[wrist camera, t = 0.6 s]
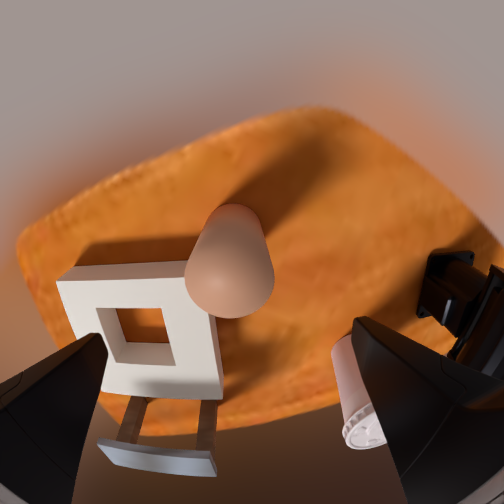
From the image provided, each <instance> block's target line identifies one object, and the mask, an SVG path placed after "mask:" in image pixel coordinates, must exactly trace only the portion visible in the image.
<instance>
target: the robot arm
mask: <svg viewBox="0 0 504 504" xmlns="http://www.w3.org/2000/svg"><path fill="white" fill-rule="evenodd" d="M474 255H475V254H474V252H472V251H460V252H450V253H438V254H431V255H430V256H429V257H428V261H427V266H426V271H425V277H424V281H423V286H422V291H421V295H420V299H419V303H418V307H417V311H416V315H417V317H418V318H424V317H429V316H433V317H434V318H435V319H436V320H437V321H438V322H439V323H440V325H442V326H443V325H444V326H445V327H446V328H447V329H448V330H449V331H450V333H451V334H452V335H453V336H454V337H455V338H457V337H458V339H457V340H456V342H455V344H454V346H453V347H452V349H451V350H450V351H449V352H448V354H447V357H448V358H447V357H445V356H443V355H440V354H439V353H437V352H435V351H433V350H431V349H429V348H427V347H425V346H423V345H421V344H419V343H417V342H415V341H414V340H412V339H410V338H408V337H406V336H404V335H402V334H400V333H398V332H396V331H394V330H392V329H390V328H388V327H386V326H384V325H382V324H380V323H378V322H376V321H374V320H372V319H370V318H368V317H366V316H362V317H356V318H355V319H354V321H353V326H352V334H351V343H352V347H353V350H354V353H355V357H356V360H357V364H358V367H359V371H360V374H361V378H362V380H363V383H364V386H365V388H366V390H367V393H368V395H369V398H370V400H371V403H372V405H373V408H374V410H375V413H376V415H377V418H378V420H379V423H380V425H381V428H382V431H383V433H384V436H385V439H386V441H387V444H388V447H389V449H390V452H391V455H392V457H393V460H394V463H395V466H396V469H397V472H398V474H399V477H400V478H401V479H400V481H401V484H402V487H403V490H404V493H405V496H406V499H407V502H408V504H504V269H503V268H500V267H498V266H495V265H493V264H491V267H490V269H489V271H490V272H489V274H488V276H487V275H485V274H484V273H482V272H481V271H479V270H477V269H476V268H474V267H473V266H472V265H473V261H474ZM432 260H433V261H432ZM421 312H422V313H421ZM420 313H421V314H420ZM108 355H109V354H108V349H107V347H106V344H105V342H104V340H103V337H102V335H101V334H100V333H93V332H91V333H89V334H87V335H85V336H83V337H81V338H80V339H78V340H76V341H74V342H73V343H71V344H69V345H67V346H66V347H64V348H62V349H60V350H59V351H57V352H56V353H54V354H52V355H50V356H48V357H47V358H45V359H43V360H41V361H40V362H38V363H36V364H35V365H33V366H31V367H29V368H28V369H26V370H24V372H23V371H22V372H21V373H19V374H17V375H15V376H14V377H12V378H10V379H8V380H6V381H5V382H3V383H1V384H0V504H71V502H72V497H73V492H74V486H75V480H76V476H77V472H78V467H79V462H80V459H81V455H82V451H83V447H84V443H85V439H86V436H87V432H88V428H89V425H90V422H91V418H92V415H93V411H94V408H95V405H96V402H97V399H98V396H99V393H100V389H101V386H102V381H103V377H104V373H105V368H106V364H107V360H108Z"/></svg>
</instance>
